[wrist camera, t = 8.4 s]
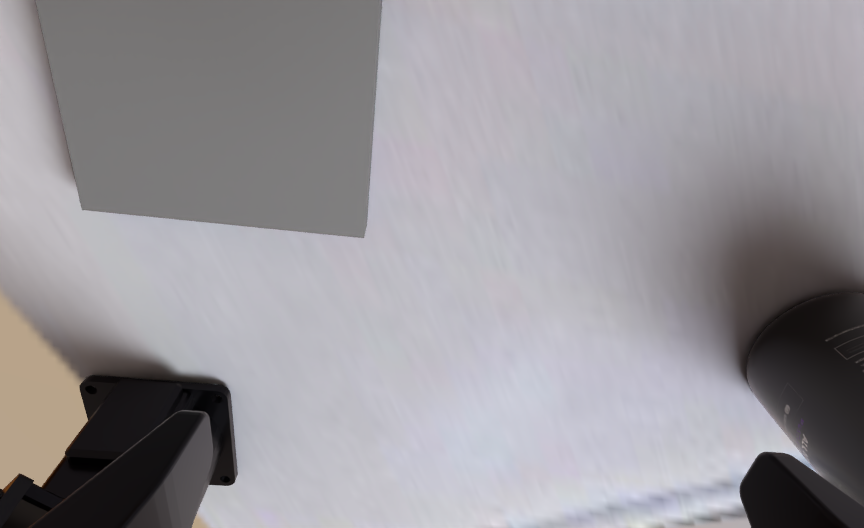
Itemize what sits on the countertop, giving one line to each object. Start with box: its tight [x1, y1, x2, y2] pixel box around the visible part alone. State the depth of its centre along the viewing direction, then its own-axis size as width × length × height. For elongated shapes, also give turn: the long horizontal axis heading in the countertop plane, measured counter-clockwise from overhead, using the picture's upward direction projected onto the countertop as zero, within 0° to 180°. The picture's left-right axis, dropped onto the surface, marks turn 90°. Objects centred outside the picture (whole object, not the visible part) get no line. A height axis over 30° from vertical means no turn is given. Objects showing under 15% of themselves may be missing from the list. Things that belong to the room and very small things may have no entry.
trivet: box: [35, 0, 382, 238], centre depth 16 cm, size 12×10×1 cm
